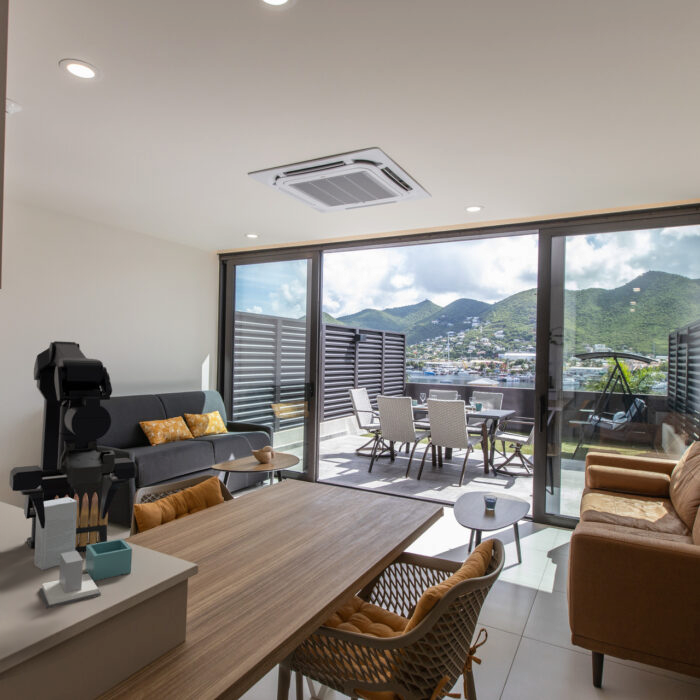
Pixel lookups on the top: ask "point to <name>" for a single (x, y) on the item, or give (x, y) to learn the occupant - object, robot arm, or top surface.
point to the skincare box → (55, 532)
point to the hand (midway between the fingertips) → (73, 523)
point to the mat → (64, 601)
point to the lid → (69, 581)
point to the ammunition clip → (89, 524)
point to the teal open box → (108, 559)
